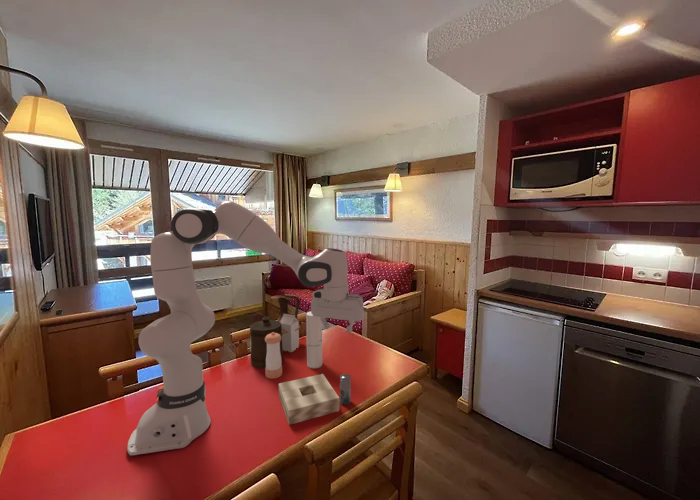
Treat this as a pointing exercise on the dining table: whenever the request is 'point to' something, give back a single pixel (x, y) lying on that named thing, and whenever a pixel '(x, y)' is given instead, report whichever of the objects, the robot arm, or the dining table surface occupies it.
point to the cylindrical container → (314, 341)
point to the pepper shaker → (273, 356)
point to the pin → (345, 389)
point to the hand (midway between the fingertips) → (337, 329)
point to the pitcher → (286, 307)
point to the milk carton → (290, 332)
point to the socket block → (308, 398)
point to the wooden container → (262, 340)
